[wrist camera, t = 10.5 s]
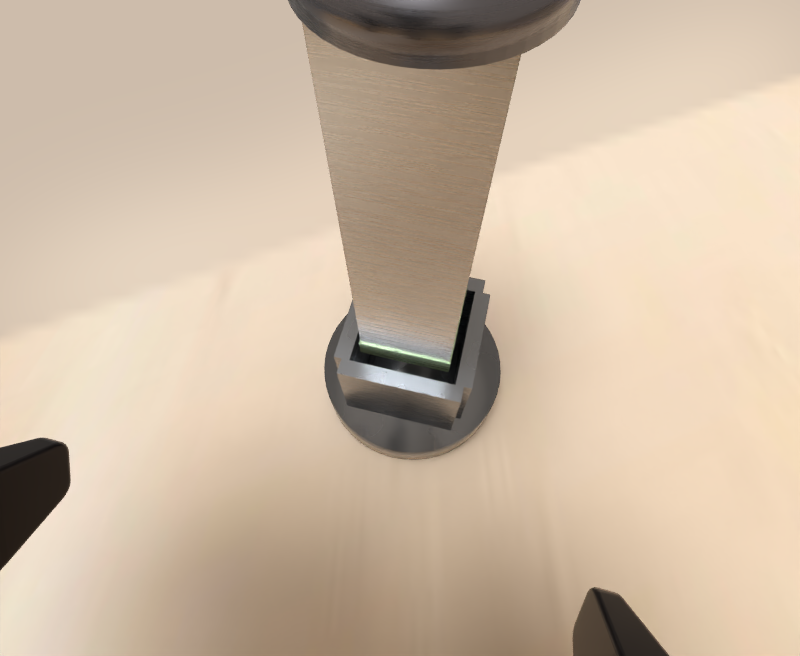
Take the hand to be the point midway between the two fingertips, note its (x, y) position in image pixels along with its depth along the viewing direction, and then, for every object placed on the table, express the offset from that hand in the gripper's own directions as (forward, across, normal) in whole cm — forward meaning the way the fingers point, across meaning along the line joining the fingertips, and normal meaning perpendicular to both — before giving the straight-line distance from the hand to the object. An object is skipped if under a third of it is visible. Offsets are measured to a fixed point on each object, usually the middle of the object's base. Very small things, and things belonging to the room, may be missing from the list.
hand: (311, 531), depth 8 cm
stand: (+15, 0, +4) cm, 16 cm away
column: (+11, 0, 0) cm, 11 cm away
